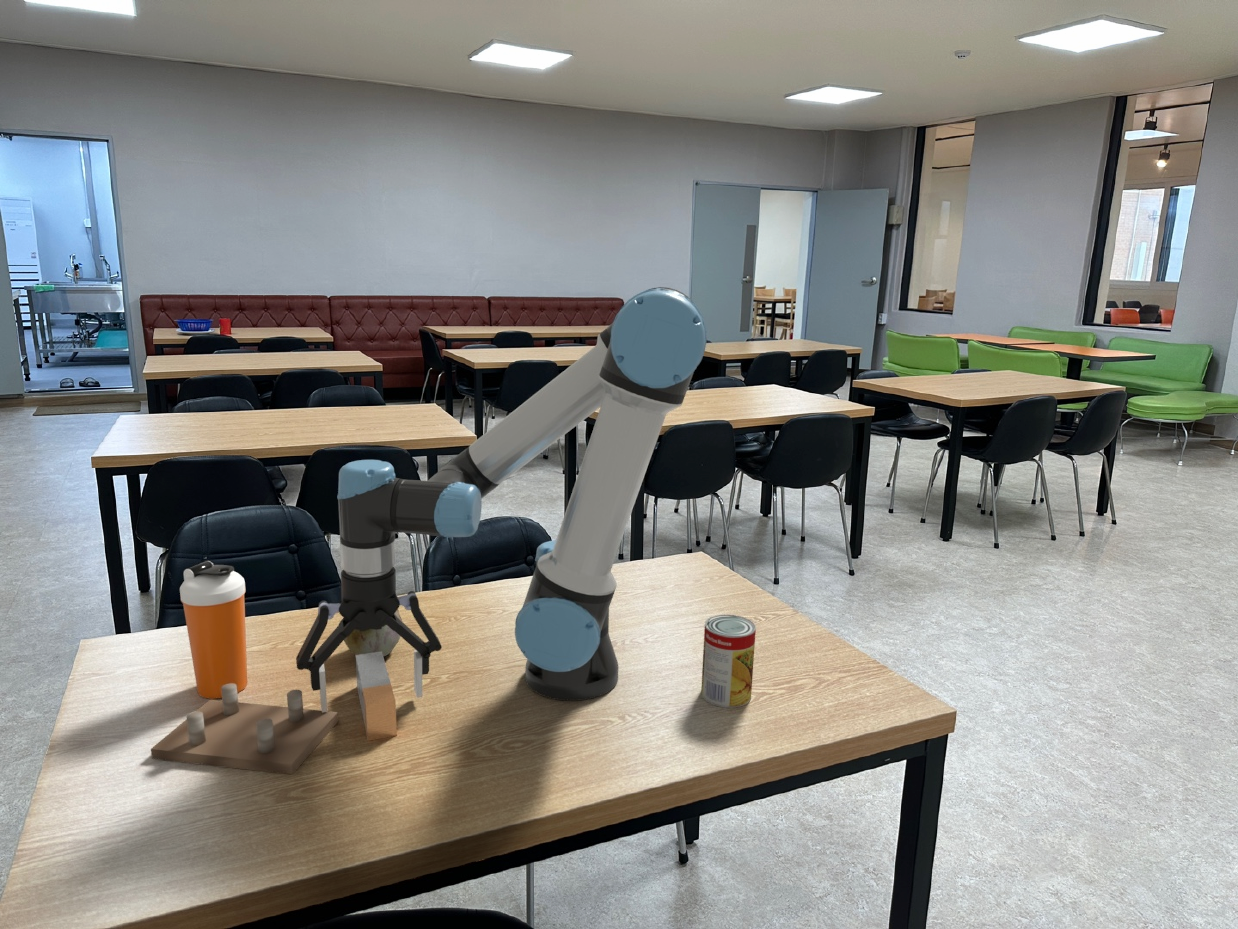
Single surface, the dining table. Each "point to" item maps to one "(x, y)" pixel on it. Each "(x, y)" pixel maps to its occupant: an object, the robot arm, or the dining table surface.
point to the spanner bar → (376, 696)
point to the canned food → (728, 660)
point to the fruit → (373, 640)
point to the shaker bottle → (215, 626)
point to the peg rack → (247, 734)
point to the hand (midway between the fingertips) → (371, 701)
